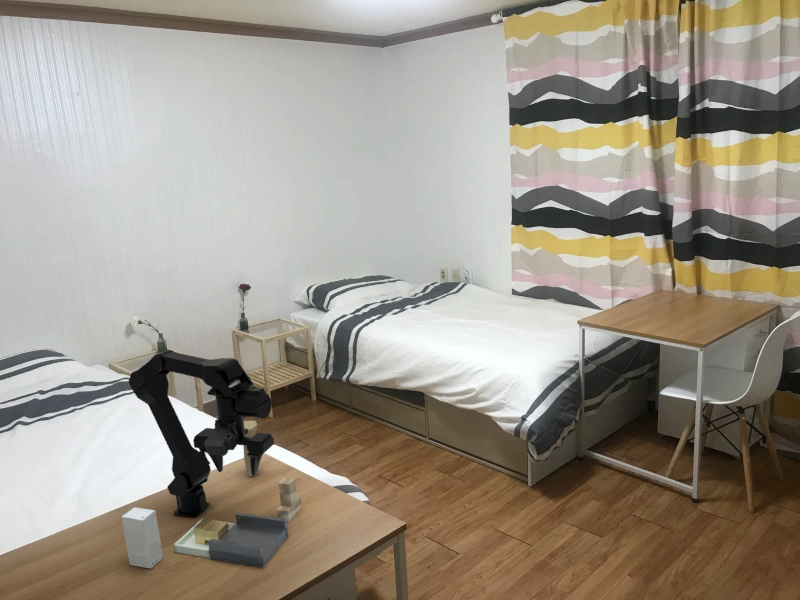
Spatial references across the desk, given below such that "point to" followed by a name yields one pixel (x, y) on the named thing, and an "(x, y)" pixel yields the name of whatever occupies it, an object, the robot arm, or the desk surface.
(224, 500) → the desk surface
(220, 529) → the chip
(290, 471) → the desk surface
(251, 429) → the handle
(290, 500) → the pale step bench
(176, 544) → the tray
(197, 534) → the wooden block
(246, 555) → the slot rail
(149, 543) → the skincare box
